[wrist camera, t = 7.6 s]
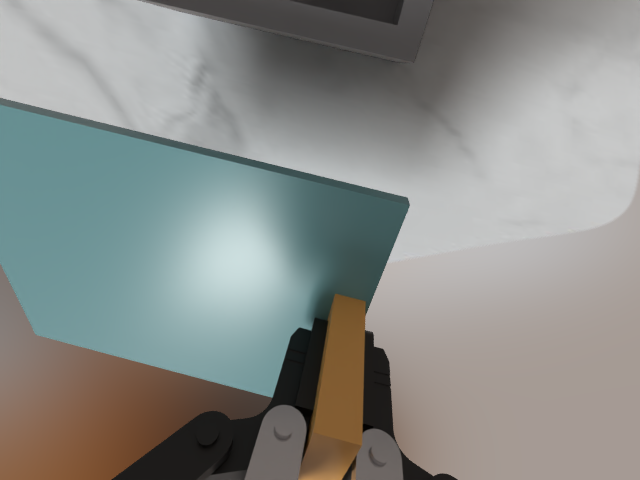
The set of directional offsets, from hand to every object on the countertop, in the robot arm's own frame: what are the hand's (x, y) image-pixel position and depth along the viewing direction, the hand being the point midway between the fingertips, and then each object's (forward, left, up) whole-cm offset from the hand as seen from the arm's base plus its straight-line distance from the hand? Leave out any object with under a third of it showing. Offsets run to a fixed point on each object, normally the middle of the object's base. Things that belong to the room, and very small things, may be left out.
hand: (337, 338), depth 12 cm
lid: (-7, 0, -1) cm, 7 cm away
